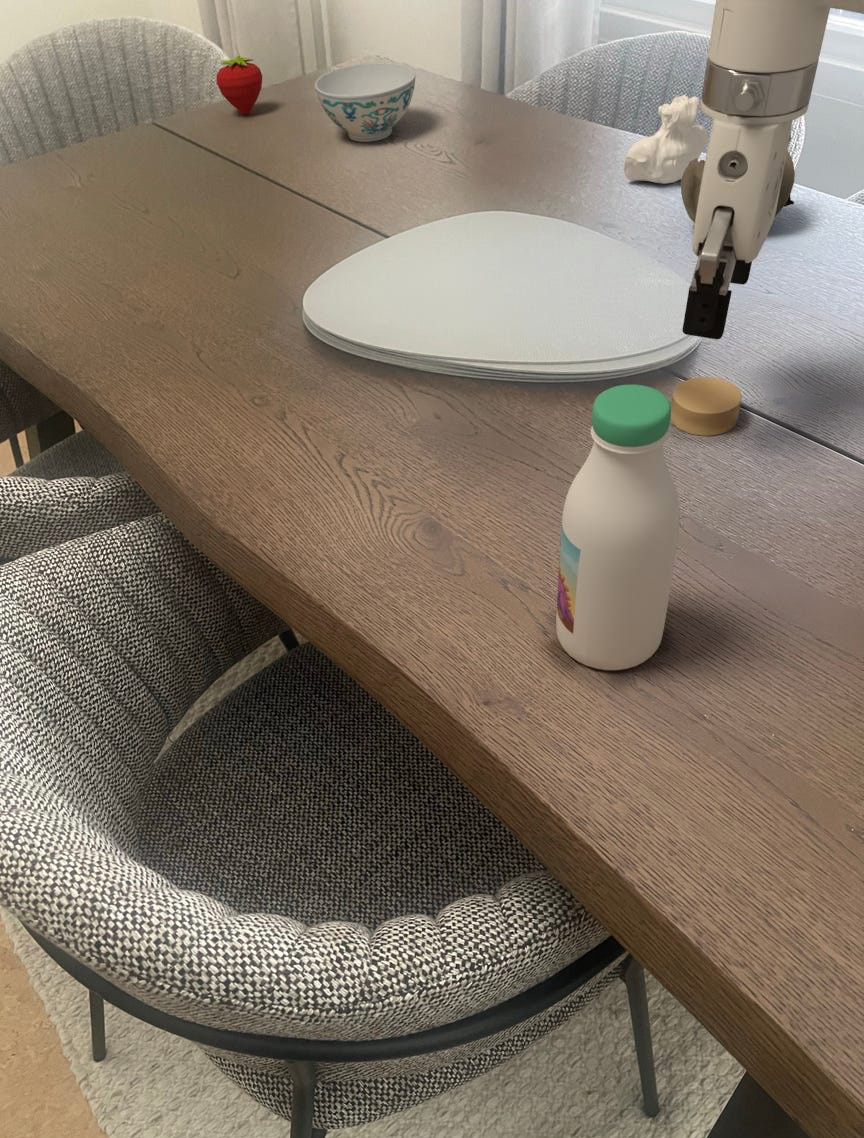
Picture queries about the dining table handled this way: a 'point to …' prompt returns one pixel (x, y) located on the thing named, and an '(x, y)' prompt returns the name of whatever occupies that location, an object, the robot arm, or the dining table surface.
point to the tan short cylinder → (705, 406)
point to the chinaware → (367, 98)
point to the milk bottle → (619, 535)
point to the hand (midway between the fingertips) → (715, 307)
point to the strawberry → (240, 83)
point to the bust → (668, 144)
